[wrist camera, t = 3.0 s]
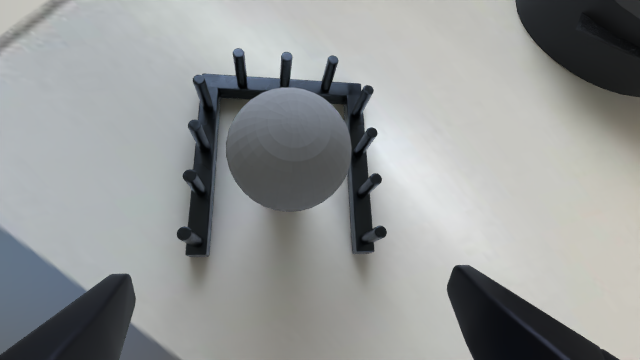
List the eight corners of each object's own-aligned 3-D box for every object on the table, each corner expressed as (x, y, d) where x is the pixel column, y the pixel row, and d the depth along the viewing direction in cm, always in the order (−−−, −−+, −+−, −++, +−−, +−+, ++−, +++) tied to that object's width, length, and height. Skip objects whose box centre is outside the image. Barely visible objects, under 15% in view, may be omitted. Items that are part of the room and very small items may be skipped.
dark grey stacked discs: (529, -41, 36) (587, -121, 29) (688, 32, 34) (791, -35, 27) (485, 50, 31) (541, -19, 24) (667, 139, 30) (783, 93, 23)
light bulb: (220, 199, 22) (183, 133, 12) (273, 134, 24) (277, 34, 14) (294, 251, 21) (314, 223, 12) (342, 181, 23) (391, 110, 14)
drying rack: (369, 253, 22) (392, 246, 18) (189, 257, 20) (169, 249, 16) (357, 92, 26) (374, 55, 22) (204, 82, 24) (191, 40, 20)
